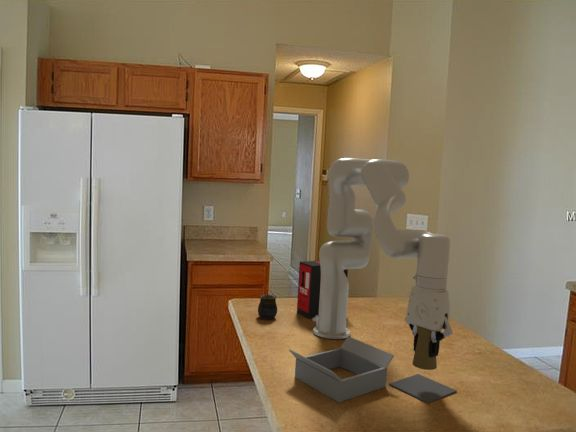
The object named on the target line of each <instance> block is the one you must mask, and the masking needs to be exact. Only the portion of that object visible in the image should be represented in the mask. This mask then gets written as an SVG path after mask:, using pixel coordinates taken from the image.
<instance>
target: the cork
mask: <svg viewBox="0 0 576 432" xmlns="http://www.w3.org/2000/svg"><path fill="white" fill-rule="evenodd" d="M417 333H418V340H417V344H416V349H415V351H414V355H413V360H412V363H411V364H412V365H413V366H414V367H415V368H417V369H420V370H427V371H433V370H437V368H438V365H437V356H435V357H432V358H431V357H429V342H430V341H432V338H431V333H432V331H431V330H427V329H424V328H421V327H418V326H417ZM436 334H437V332H436Z"/></svg>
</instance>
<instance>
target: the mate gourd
mask: <svg viewBox="0 0 576 432" xmlns="http://www.w3.org/2000/svg"><path fill="white" fill-rule="evenodd" d="M276 298H277V297H276V296H274V295H272V294H269V293H268V294H267V293H266V294H263V295H260V299H259V300H260V301H259V304H258V306H257V314H258V317H260V319H262V320H272V319H274V318H276V316H277V313H278V306H277V302H276Z"/></svg>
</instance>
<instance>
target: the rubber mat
mask: <svg viewBox="0 0 576 432" xmlns="http://www.w3.org/2000/svg"><path fill="white" fill-rule="evenodd" d="M388 385H389V386H391V387H393V388H395V389H397V390H398V391H401V392H403V393H405V394H408V395H409V396H412V397H414V398H415V399H417V400H420V401H422V402H424V403H426V404H430V403H432V402H435V401H438V400H440V399H442V398H445V397H448V396H450V395H453V394H456V393H457V391H458V390H456V389H454V388H453V387H450V386H447V385H444V384H442V383H440V382H438V381H436V380H433V379H431V378H429V377H426V376H423V375H422V374H419V373H417V374H413V375H411V376H408V377H405V378H402V379H398V380H396V381H392V382H390V383H388Z"/></svg>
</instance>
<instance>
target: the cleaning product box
mask: <svg viewBox="0 0 576 432" xmlns="http://www.w3.org/2000/svg"><path fill="white" fill-rule="evenodd" d="M298 268H299V269H298V285H297V286H298V287H297V303H296V304H297V305H296V313H297V314H298V315H301V316H302V317H305V318H306V319H309V320H312V319H313V318H315V316H316V315H319V301H320V283H321V267H320V260H308V261H307V260H306V261H299V267H298ZM348 271H349V269H344V273H345V275H346V277H347V278H348Z"/></svg>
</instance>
